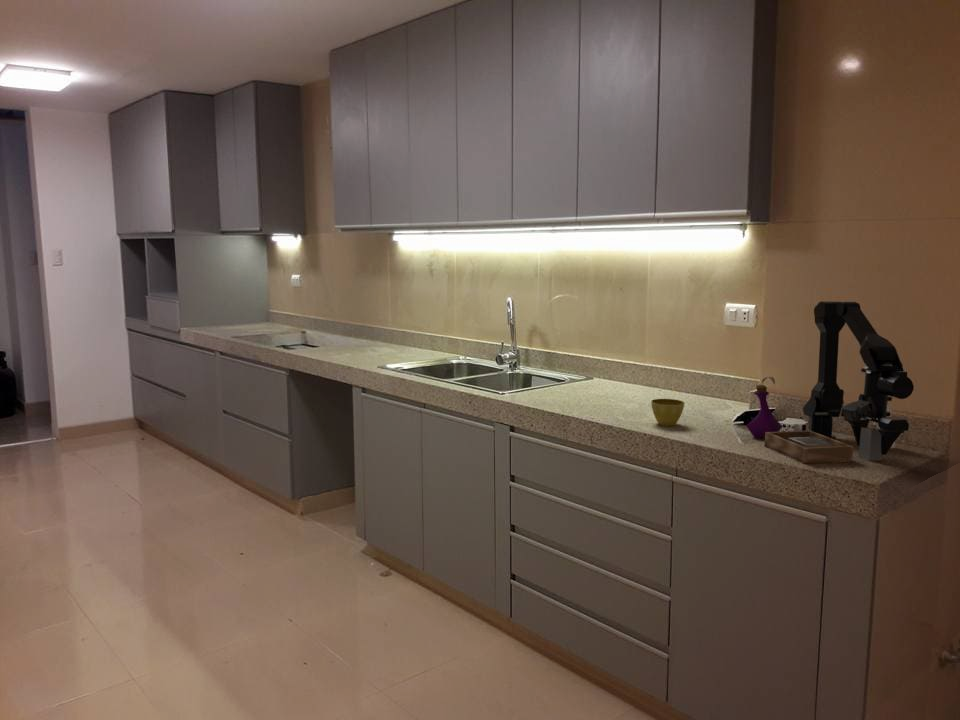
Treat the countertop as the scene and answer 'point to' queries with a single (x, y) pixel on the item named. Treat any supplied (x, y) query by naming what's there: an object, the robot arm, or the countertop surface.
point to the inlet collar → (810, 442)
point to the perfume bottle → (763, 415)
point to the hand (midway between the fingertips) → (871, 450)
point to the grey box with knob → (870, 444)
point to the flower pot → (667, 411)
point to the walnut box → (808, 455)
